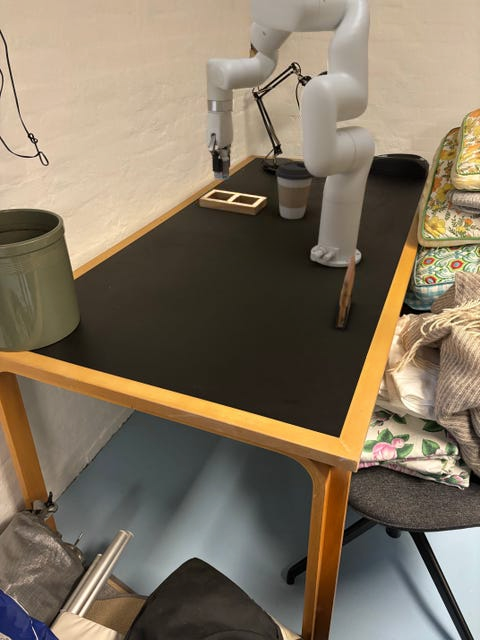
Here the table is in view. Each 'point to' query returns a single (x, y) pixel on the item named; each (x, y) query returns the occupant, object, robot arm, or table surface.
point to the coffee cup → (293, 188)
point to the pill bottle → (225, 173)
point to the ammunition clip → (346, 295)
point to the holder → (233, 202)
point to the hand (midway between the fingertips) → (221, 168)
